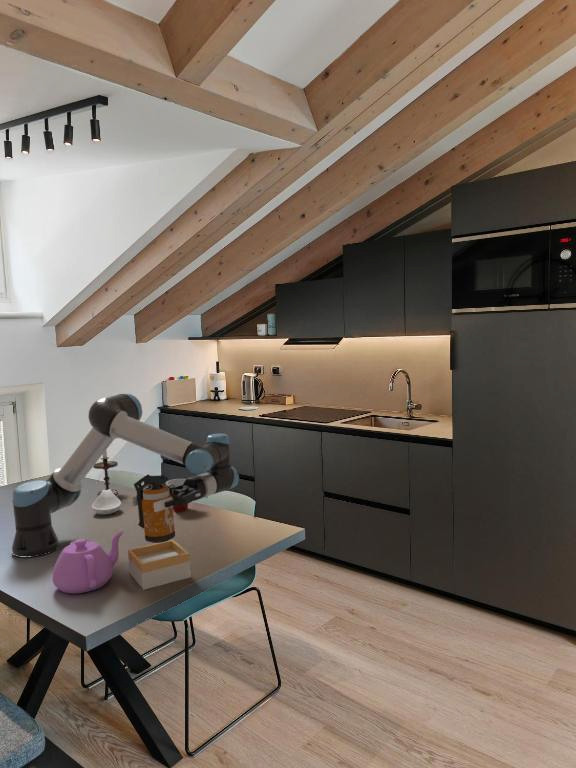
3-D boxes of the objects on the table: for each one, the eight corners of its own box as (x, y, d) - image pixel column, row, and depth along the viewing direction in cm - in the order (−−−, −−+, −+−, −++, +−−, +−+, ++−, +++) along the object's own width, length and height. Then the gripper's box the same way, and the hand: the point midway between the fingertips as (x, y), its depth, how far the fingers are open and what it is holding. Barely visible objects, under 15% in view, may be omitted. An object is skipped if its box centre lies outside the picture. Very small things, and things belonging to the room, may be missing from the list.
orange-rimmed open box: (143, 589, 175) (141, 564, 174) (129, 573, 187) (127, 549, 186) (190, 577, 182) (189, 553, 181) (174, 562, 194) (172, 539, 194)
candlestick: (113, 489, 289) (107, 417, 286) (124, 493, 281) (118, 419, 278) (91, 494, 282) (85, 420, 278) (102, 498, 274) (96, 422, 270)
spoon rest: (122, 515, 248) (120, 498, 247) (92, 519, 245) (90, 502, 244) (120, 500, 271) (119, 484, 270) (93, 503, 267) (92, 488, 267)
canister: (168, 544, 178) (162, 478, 176) (133, 544, 180) (127, 479, 178) (179, 534, 187) (174, 470, 185) (146, 534, 189) (140, 471, 187)
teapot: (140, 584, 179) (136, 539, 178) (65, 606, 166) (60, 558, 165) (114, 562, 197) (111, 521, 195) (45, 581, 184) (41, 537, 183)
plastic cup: (181, 515, 244) (179, 486, 243) (162, 511, 249) (160, 483, 248) (199, 507, 253) (197, 479, 252) (179, 504, 259) (178, 477, 257)
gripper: (224, 503, 189) (168, 523, 172) (177, 493, 204) (121, 510, 187) (222, 480, 188) (166, 497, 171) (175, 471, 203) (119, 487, 186)
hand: (143, 504), depth 179 cm, fingers closed on canister, 10 cm apart
